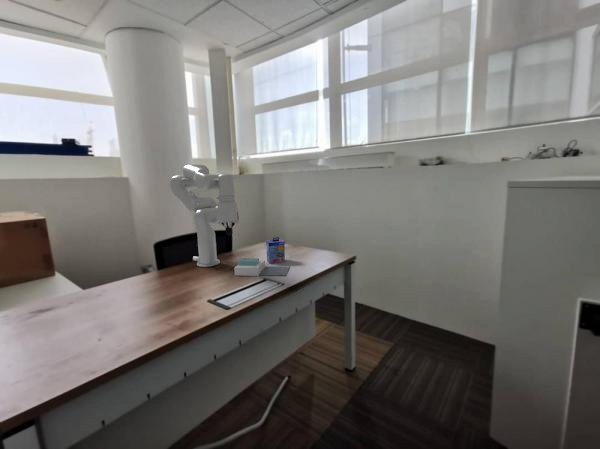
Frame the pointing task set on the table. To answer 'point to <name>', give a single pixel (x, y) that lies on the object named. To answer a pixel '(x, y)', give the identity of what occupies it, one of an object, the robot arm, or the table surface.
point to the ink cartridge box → (275, 250)
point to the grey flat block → (250, 269)
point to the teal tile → (249, 261)
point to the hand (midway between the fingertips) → (229, 235)
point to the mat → (274, 271)
